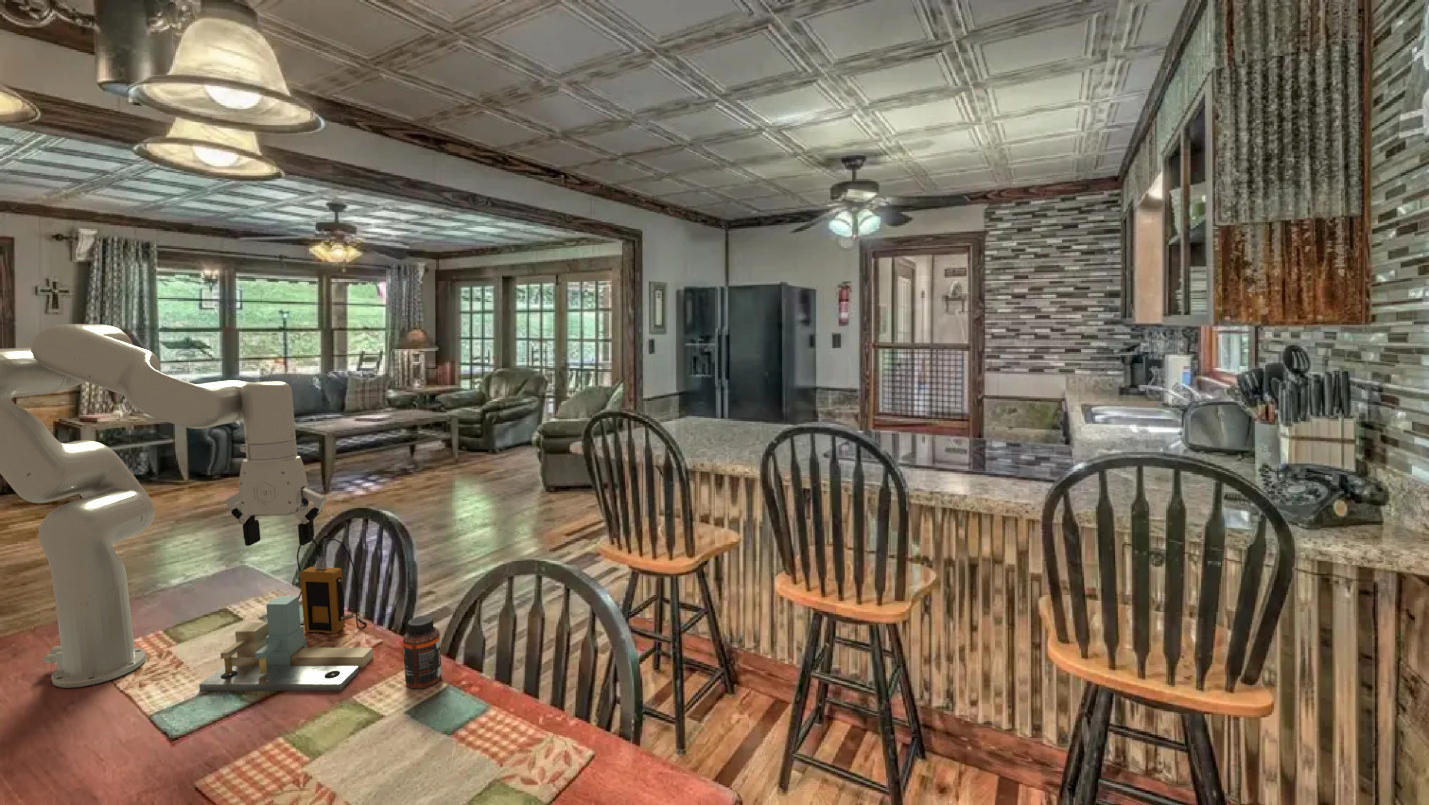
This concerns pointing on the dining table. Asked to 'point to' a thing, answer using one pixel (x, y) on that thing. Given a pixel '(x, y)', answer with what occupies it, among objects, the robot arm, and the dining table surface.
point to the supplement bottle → (422, 653)
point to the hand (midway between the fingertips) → (279, 543)
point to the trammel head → (282, 633)
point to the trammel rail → (254, 639)
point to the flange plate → (281, 678)
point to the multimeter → (324, 597)
